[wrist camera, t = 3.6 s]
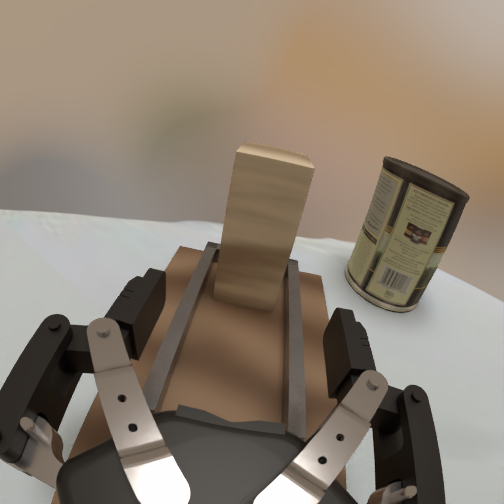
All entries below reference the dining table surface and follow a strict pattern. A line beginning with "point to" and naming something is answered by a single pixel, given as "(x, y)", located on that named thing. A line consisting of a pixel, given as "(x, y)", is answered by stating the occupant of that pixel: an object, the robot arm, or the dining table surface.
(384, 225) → the coffee can
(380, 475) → the robot arm
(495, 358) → the dining table surface
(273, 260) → the birch block
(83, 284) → the dining table surface
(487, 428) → the dining table surface
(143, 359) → the board
